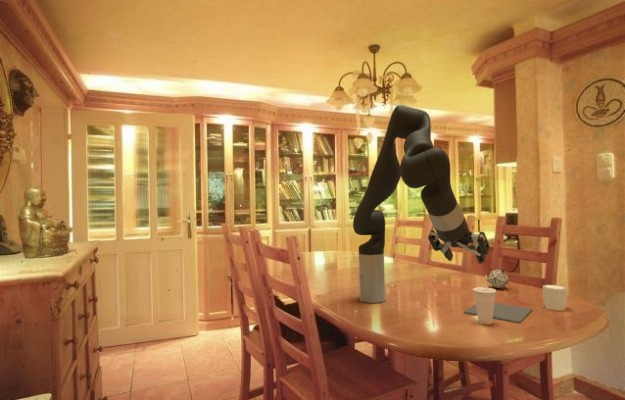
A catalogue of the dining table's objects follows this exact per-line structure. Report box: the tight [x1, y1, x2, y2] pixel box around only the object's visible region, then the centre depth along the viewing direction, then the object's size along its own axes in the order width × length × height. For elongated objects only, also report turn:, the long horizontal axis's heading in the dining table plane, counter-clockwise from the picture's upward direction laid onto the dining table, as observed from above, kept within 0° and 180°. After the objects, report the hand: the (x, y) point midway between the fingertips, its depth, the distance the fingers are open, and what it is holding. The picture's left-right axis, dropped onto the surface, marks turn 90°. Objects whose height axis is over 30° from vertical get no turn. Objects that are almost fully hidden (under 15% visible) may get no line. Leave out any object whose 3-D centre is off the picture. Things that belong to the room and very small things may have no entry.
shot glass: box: [542, 284, 568, 312], centre depth 121 cm, size 7×7×7 cm
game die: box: [487, 267, 512, 291], centre depth 148 cm, size 9×8×10 cm
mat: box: [463, 302, 533, 324], centre depth 118 cm, size 16×16×1 cm
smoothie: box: [472, 274, 497, 325], centre depth 109 cm, size 6×6×14 cm
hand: (465, 259), depth 98 cm, fingers open, 7 cm apart
